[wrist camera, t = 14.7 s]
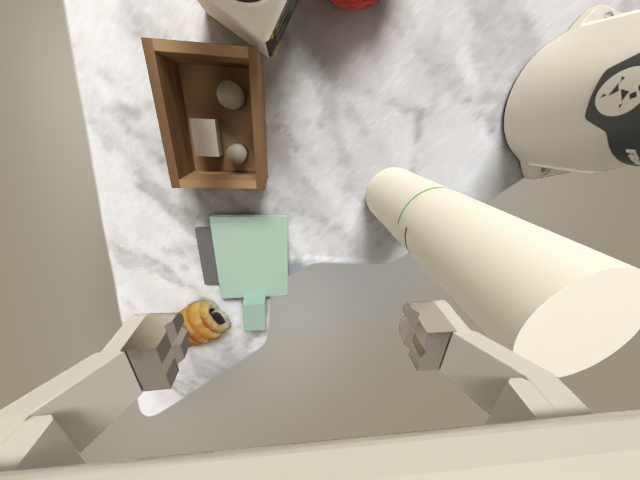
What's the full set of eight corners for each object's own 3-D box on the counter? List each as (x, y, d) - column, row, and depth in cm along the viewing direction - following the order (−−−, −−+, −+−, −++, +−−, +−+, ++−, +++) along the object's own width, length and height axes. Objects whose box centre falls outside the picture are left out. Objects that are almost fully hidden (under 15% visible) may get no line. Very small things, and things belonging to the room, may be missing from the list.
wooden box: (262, 61, 27) (257, 47, 21) (267, 176, 32) (264, 189, 26) (171, 54, 25) (141, 37, 20) (191, 175, 31) (171, 187, 25)
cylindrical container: (366, 221, 36) (499, 389, 14) (364, 171, 33) (533, 282, 11) (414, 214, 37) (619, 365, 14) (417, 163, 33) (686, 255, 11)
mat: (273, 226, 35) (273, 228, 34) (275, 279, 38) (275, 281, 38) (196, 227, 33) (194, 228, 33) (205, 281, 37) (204, 284, 36)
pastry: (187, 345, 42) (179, 365, 39) (157, 318, 39) (145, 338, 36) (235, 319, 41) (230, 338, 38) (207, 291, 38) (200, 308, 35)
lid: (287, 214, 34) (287, 223, 31) (287, 314, 41) (288, 328, 38) (210, 214, 32) (204, 223, 30) (225, 317, 40) (221, 332, 37)
